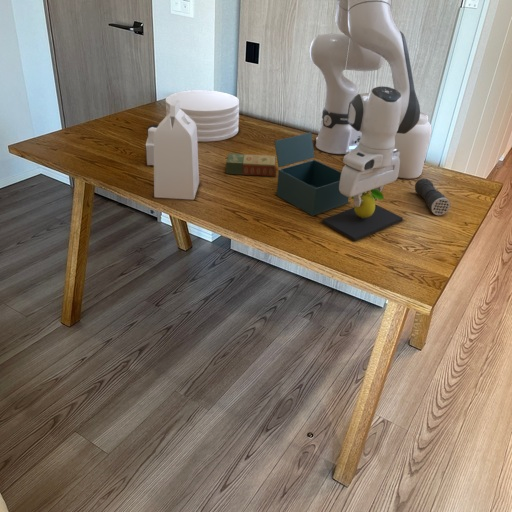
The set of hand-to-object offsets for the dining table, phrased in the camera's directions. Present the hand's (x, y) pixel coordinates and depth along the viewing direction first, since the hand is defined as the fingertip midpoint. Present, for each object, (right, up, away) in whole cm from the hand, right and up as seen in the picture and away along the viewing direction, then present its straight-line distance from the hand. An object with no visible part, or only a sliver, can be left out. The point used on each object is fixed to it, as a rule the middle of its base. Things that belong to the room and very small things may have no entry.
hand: (365, 202), depth 135 cm
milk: (-53, +5, +15) cm, 56 cm away
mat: (0, -5, +3) cm, 6 cm away
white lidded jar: (+20, +14, +35) cm, 43 cm away
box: (-13, +3, +14) cm, 19 cm away
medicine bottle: (-62, +17, +32) cm, 72 cm away
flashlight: (+22, +1, +15) cm, 27 cm away
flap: (-18, +17, +13) cm, 28 cm away
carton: (-31, +14, +30) cm, 45 cm away
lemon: (0, -4, +3) cm, 5 cm away
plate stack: (-51, +35, +62) cm, 87 cm away
